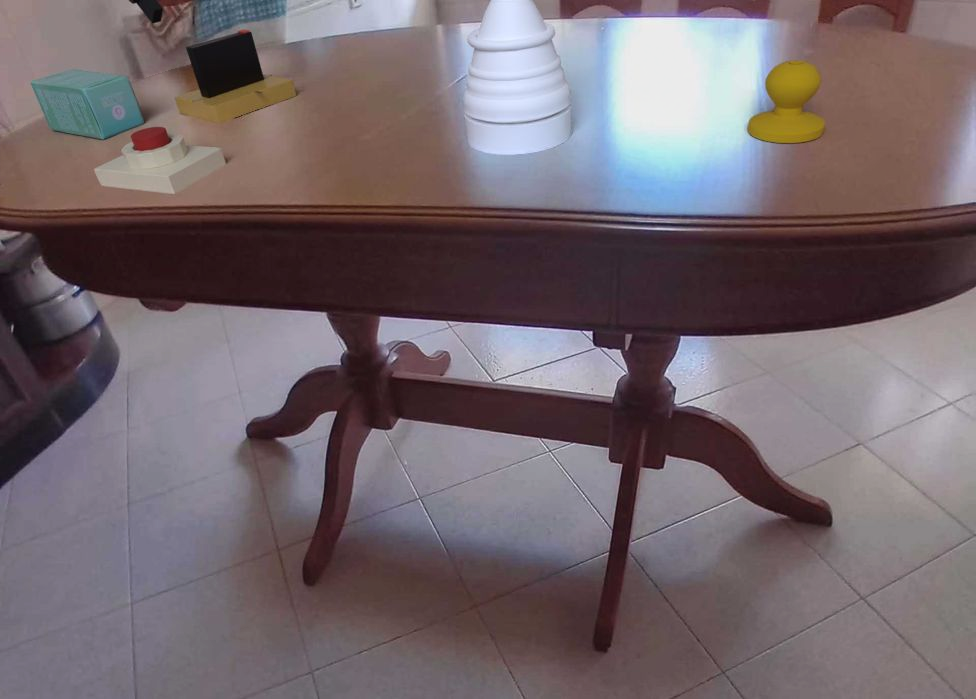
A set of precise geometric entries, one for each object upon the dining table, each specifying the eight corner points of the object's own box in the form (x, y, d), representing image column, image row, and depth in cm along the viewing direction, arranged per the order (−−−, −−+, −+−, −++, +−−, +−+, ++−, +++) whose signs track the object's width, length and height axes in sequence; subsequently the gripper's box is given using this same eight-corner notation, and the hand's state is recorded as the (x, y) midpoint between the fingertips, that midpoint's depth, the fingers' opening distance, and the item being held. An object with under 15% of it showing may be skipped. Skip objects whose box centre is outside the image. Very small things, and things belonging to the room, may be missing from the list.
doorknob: (786, 149, 75) (732, 130, 81) (839, 131, 78) (783, 114, 83) (798, 77, 70) (740, 62, 76) (854, 61, 73) (793, 48, 79)
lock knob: (208, 98, 103) (192, 46, 99) (201, 96, 104) (184, 45, 100) (264, 79, 109) (251, 29, 105) (256, 78, 110) (243, 29, 106)
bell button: (128, 151, 83) (122, 137, 82) (153, 139, 86) (148, 125, 85) (153, 154, 82) (148, 139, 81) (178, 141, 85) (172, 127, 84)
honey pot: (476, 119, 92) (461, -35, 82) (574, 115, 90) (572, -43, 79) (457, 156, 82) (437, -14, 71) (568, 153, 80) (563, -24, 69)
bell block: (100, 186, 85) (86, 154, 83) (155, 158, 91) (143, 128, 89) (174, 194, 80) (162, 161, 78) (226, 164, 87) (216, 133, 85)
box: (104, 141, 99) (82, 87, 95) (50, 132, 106) (27, 81, 101) (147, 124, 104) (128, 72, 100) (93, 117, 111) (73, 67, 106)
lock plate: (225, 125, 100) (219, 106, 99) (173, 112, 108) (167, 95, 107) (303, 96, 109) (299, 79, 107) (250, 86, 116) (245, 70, 115)
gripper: (100, -95, 112) (191, 24, 113) (16, -83, 104) (115, 44, 105) (102, -137, 106) (198, -12, 107) (13, -128, 98) (118, 7, 99)
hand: (157, 15), depth 106 cm, fingers closed
